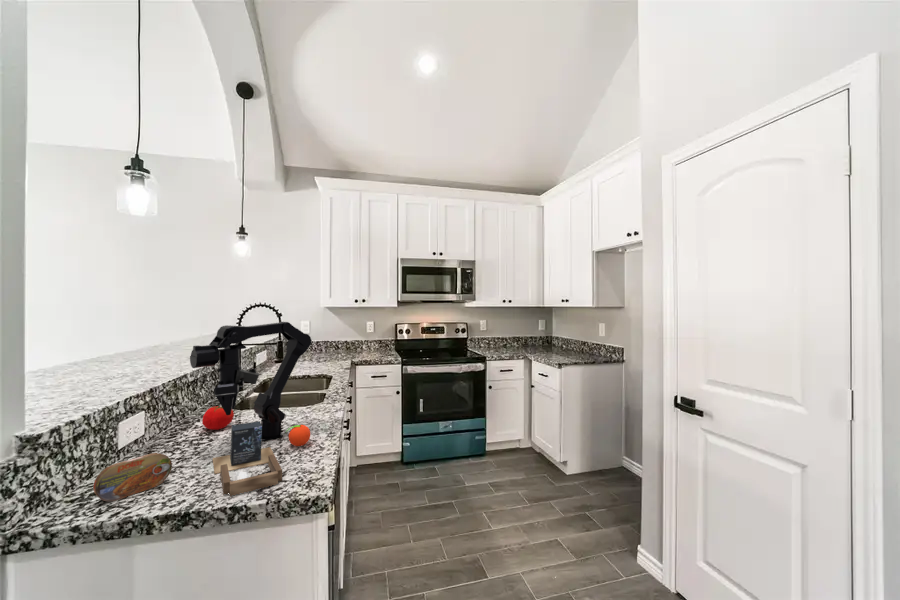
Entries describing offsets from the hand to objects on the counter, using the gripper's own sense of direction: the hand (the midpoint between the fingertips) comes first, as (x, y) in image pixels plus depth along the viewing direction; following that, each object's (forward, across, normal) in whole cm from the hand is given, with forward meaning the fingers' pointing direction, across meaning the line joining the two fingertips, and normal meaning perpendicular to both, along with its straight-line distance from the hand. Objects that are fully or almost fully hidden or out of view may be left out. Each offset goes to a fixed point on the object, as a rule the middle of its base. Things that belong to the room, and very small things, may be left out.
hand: (230, 411), depth 118 cm
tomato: (+10, +26, +8) cm, 29 cm away
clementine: (+14, -4, -20) cm, 24 cm away
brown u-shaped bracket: (+14, -23, -7) cm, 28 cm away
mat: (+13, -10, -5) cm, 17 cm away
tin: (+13, -20, +19) cm, 31 cm away
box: (+13, -11, -5) cm, 18 cm away
